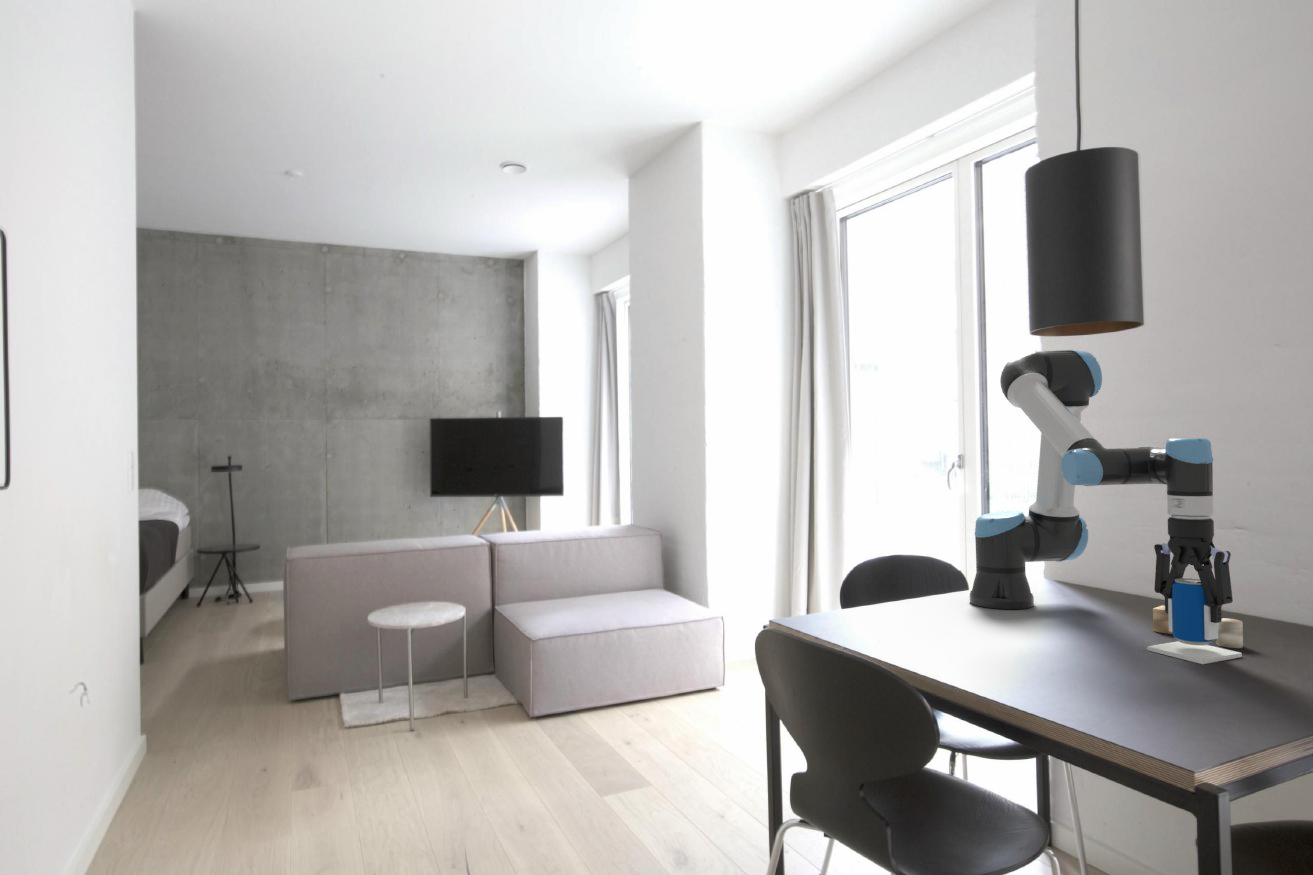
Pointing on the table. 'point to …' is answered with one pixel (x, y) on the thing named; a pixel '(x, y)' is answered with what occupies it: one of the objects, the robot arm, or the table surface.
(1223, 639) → the birch cylinder
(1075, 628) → the table surface
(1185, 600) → the beverage can
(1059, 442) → the robot arm
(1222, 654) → the pad
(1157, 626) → the oak cube
